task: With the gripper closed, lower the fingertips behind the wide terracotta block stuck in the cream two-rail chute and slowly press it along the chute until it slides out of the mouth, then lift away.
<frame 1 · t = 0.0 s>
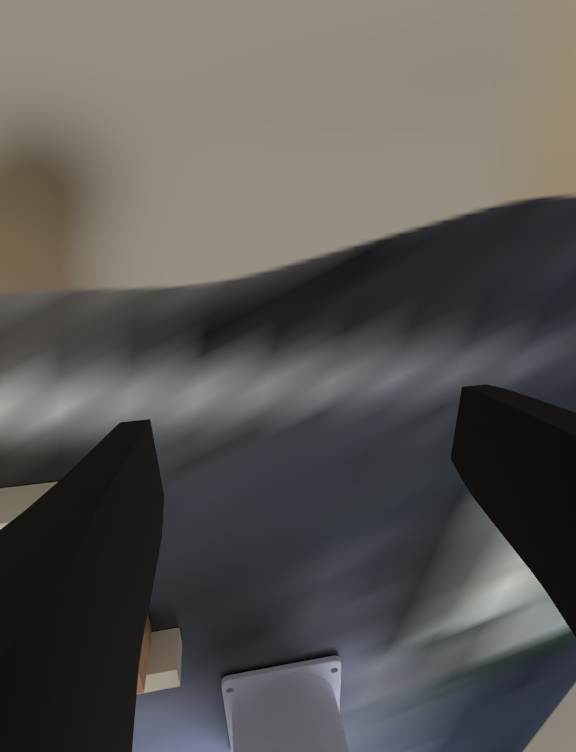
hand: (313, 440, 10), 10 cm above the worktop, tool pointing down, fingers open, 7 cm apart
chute: (11, 590, 23), on the worktop
jammed block: (81, 610, 22), point 2 cm above the worktop, slide at 0.0 cm
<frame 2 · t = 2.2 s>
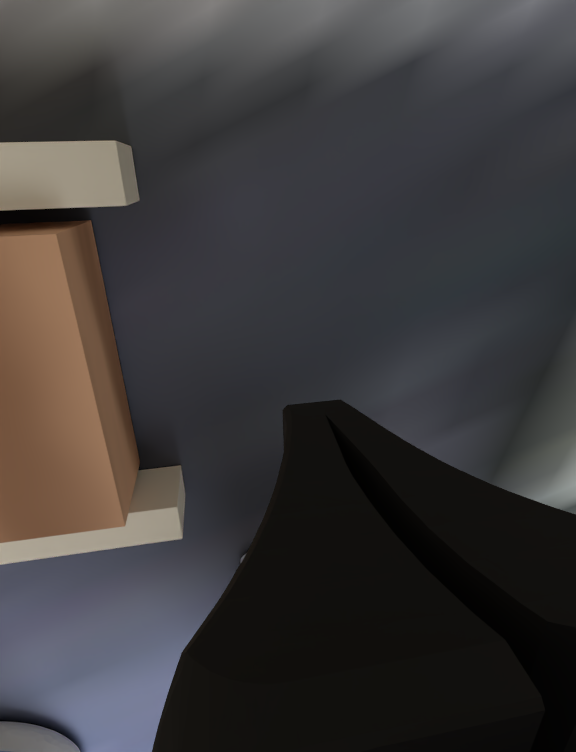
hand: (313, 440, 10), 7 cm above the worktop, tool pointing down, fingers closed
jammed block: (23, 384, 14), point 2 cm above the worktop, slide at 0.0 cm
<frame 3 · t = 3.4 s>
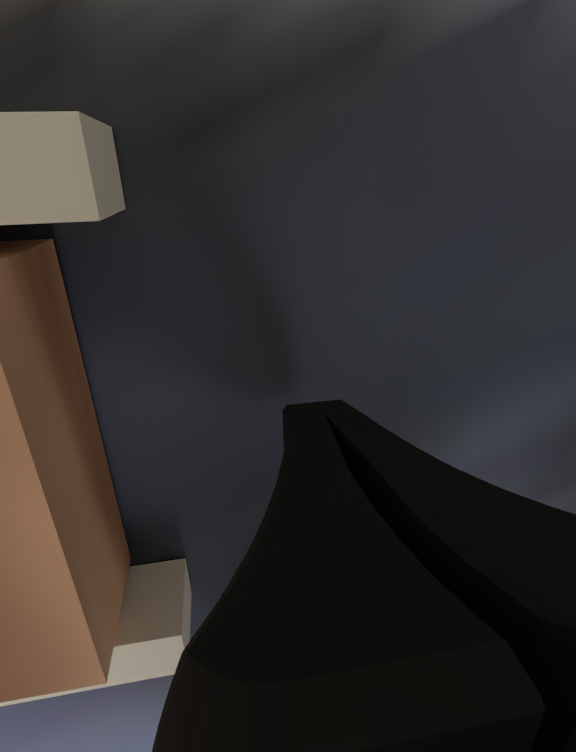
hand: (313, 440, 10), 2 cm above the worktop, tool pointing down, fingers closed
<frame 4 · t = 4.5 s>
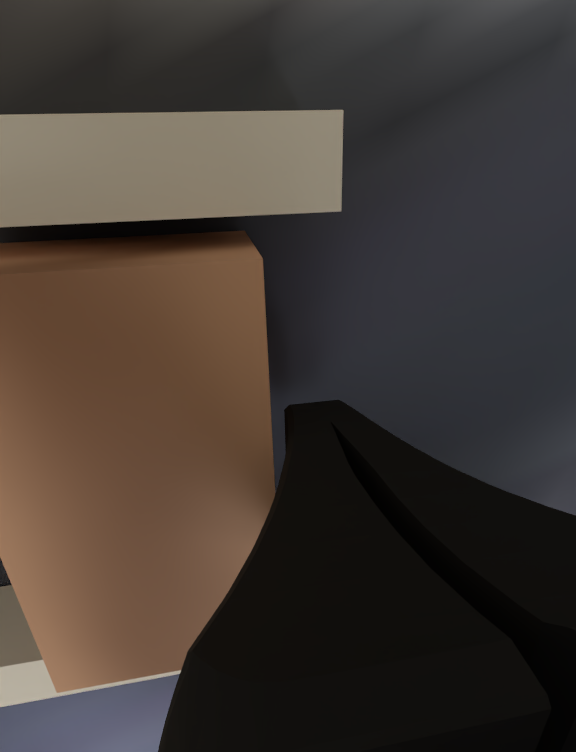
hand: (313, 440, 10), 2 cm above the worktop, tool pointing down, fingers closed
jammed block: (150, 461, 10), point 2 cm above the worktop, slide at 0.0 cm, touching gripper
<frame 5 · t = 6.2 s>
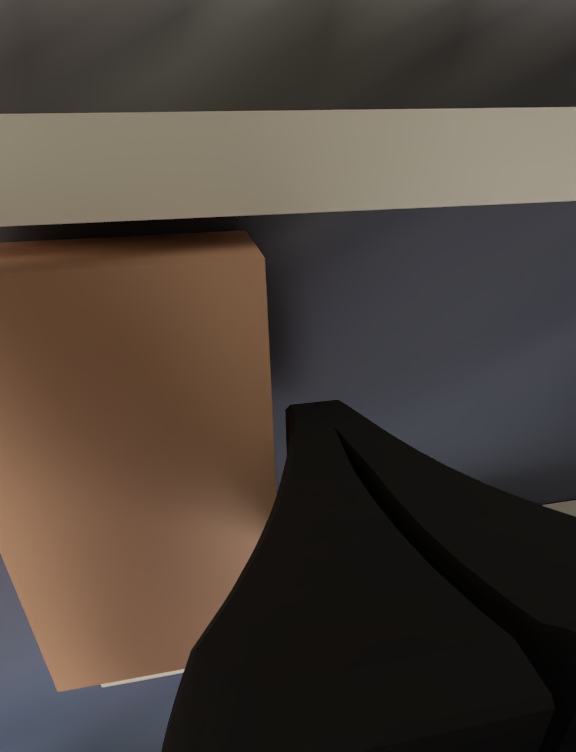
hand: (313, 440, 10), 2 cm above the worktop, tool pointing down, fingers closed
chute: (375, 394, 12), on the worktop
jammed block: (151, 461, 10), point 2 cm above the worktop, slide at 9.8 cm, touching gripper
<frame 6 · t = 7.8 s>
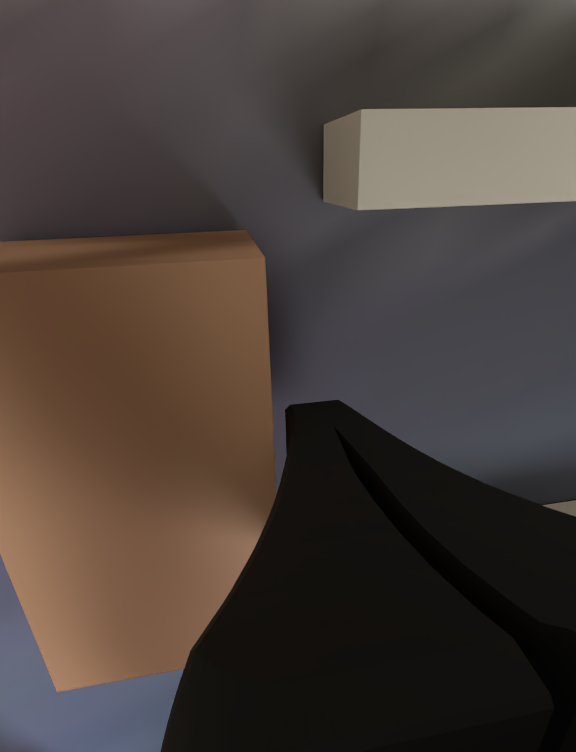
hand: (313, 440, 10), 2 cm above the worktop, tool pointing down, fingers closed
jammed block: (151, 460, 10), point 2 cm above the worktop, slide at 16.3 cm, touching gripper
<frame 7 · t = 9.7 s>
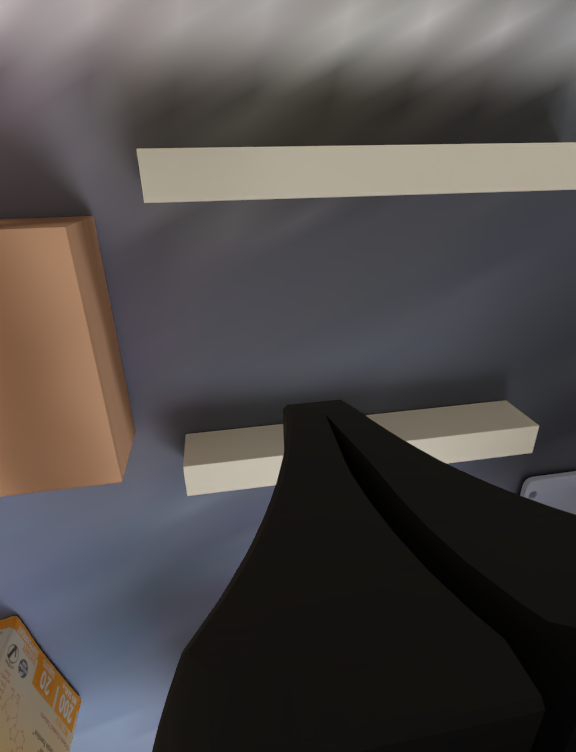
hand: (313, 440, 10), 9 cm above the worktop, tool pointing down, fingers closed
supplement box: (15, 665, 25), on the worktop
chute: (359, 316, 19), on the worktop
jammed block: (34, 357, 16), point 2 cm above the worktop, slide at 16.6 cm
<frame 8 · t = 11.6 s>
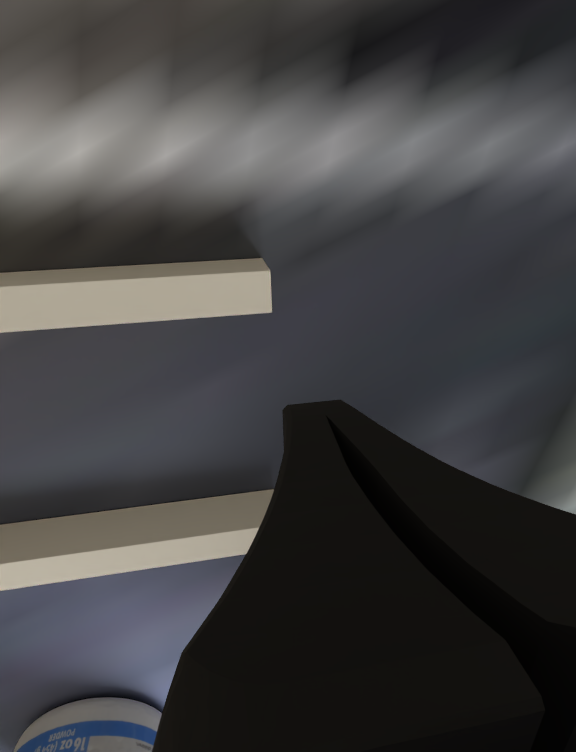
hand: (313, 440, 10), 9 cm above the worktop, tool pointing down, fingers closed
supplement tub: (100, 732, 29), on the worktop
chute: (86, 421, 19), on the worktop
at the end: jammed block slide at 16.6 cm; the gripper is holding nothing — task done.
